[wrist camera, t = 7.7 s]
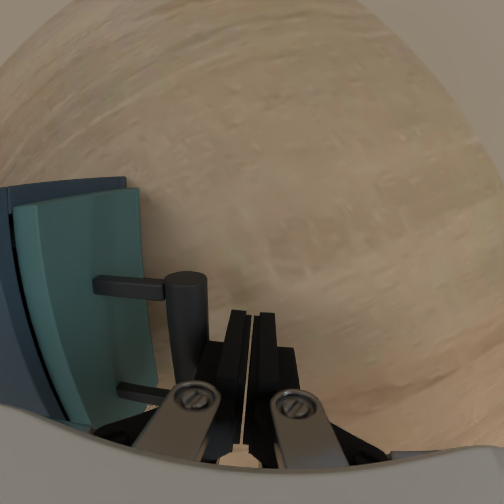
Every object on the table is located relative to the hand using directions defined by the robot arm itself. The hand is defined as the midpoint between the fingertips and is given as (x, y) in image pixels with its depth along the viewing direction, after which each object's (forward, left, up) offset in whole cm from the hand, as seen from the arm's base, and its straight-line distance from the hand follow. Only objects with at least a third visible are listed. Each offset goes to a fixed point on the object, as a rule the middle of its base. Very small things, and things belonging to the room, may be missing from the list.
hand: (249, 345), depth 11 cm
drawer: (+10, 0, -4) cm, 10 cm away
